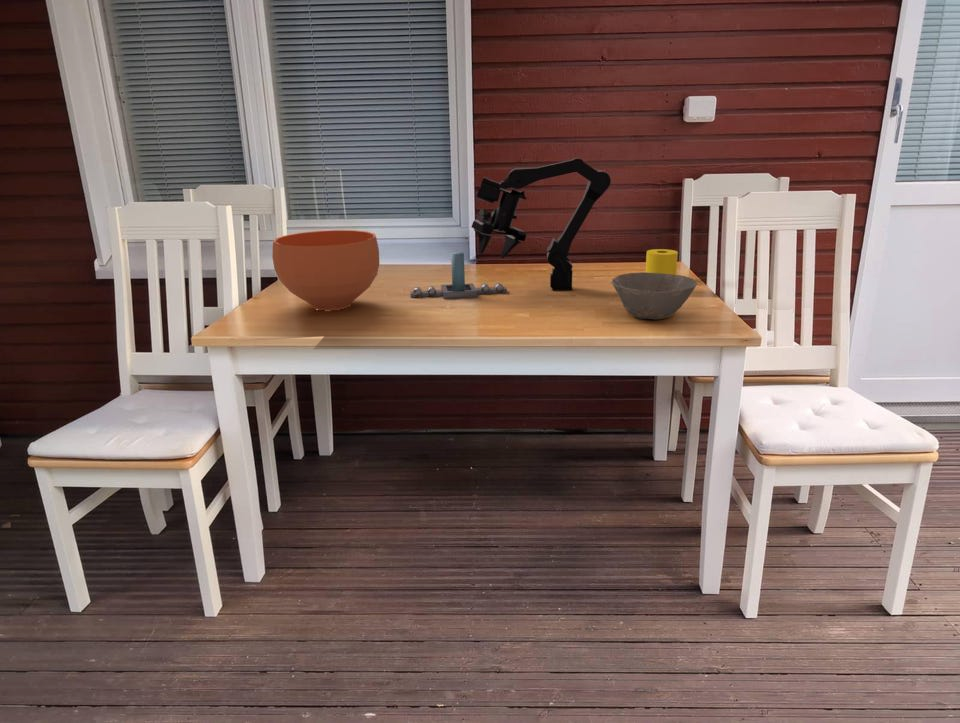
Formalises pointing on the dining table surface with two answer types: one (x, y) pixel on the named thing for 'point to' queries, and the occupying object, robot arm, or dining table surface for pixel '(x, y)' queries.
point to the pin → (458, 271)
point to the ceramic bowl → (653, 293)
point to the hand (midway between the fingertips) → (491, 256)
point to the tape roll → (661, 261)
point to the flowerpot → (327, 265)
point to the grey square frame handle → (467, 293)
